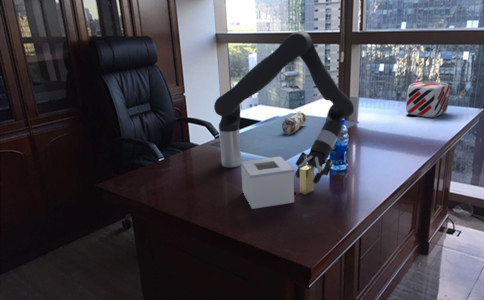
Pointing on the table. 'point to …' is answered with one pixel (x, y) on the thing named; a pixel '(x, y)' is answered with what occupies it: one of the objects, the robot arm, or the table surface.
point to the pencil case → (293, 123)
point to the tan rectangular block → (306, 179)
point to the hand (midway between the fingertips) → (305, 179)
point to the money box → (267, 182)
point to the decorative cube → (427, 98)
